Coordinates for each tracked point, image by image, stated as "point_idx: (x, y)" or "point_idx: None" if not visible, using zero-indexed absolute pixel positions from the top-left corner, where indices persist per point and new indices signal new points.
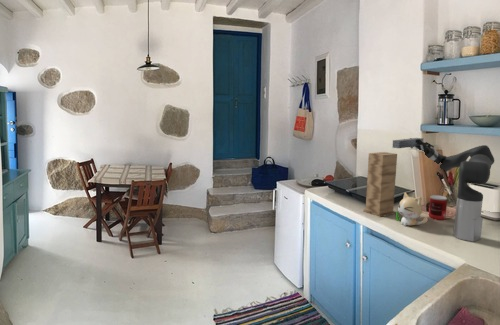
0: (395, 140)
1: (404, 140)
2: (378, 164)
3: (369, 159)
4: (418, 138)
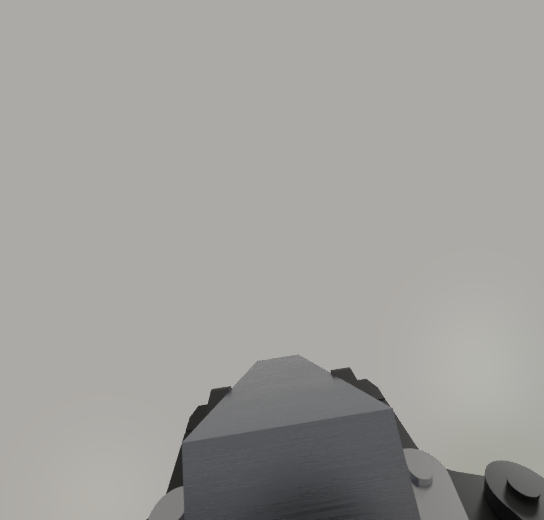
0: (283, 357)
1: (253, 365)
2: None
3: None
4: (258, 400)
